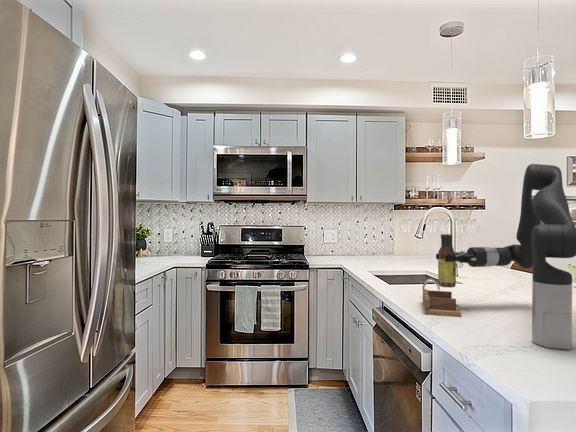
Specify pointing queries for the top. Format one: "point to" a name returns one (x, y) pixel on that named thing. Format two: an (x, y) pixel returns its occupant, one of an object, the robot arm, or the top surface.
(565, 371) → the top surface
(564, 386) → the top surface
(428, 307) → the rack
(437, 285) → the ring
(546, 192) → the robot arm
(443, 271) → the sauce bottle
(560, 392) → the top surface
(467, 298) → the top surface
